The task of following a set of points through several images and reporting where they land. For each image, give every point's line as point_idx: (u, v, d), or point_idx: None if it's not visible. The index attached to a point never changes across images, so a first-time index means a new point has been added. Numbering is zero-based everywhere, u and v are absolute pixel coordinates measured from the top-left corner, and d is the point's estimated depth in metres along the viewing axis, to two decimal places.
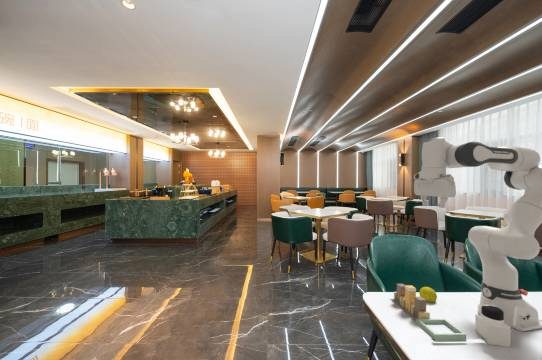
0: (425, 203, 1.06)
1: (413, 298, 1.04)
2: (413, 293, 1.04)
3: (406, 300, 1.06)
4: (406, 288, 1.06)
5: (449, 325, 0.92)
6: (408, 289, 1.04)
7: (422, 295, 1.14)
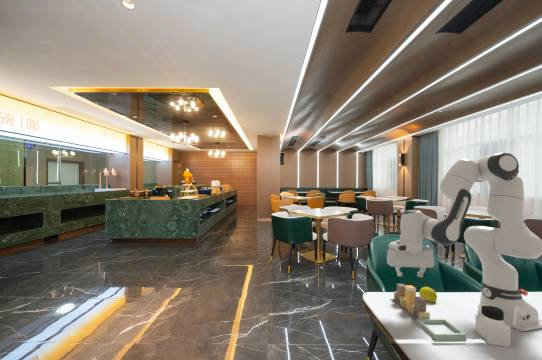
0: None
1: (413, 298, 1.04)
2: (413, 293, 1.04)
3: (406, 300, 1.06)
4: (406, 288, 1.06)
5: (449, 325, 0.92)
6: (408, 289, 1.04)
7: (422, 295, 1.14)
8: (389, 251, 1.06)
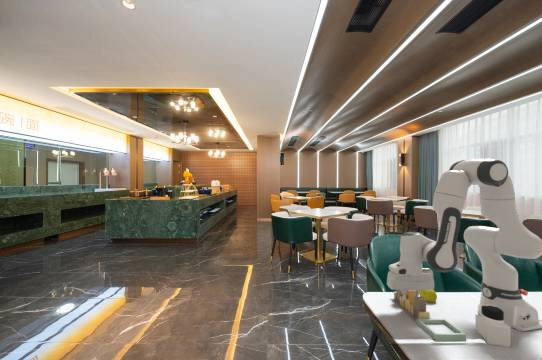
0: None
1: (413, 298, 1.04)
2: (413, 293, 1.04)
3: (406, 300, 1.06)
4: None
5: (449, 325, 0.92)
6: None
7: (422, 295, 1.14)
8: (389, 274, 1.06)
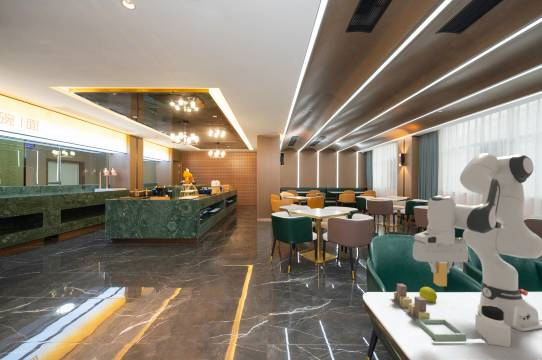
0: None
1: (444, 271, 0.90)
2: (444, 266, 0.90)
3: (435, 274, 0.91)
4: None
5: (449, 325, 0.92)
6: None
7: (422, 295, 1.14)
8: (415, 244, 0.92)
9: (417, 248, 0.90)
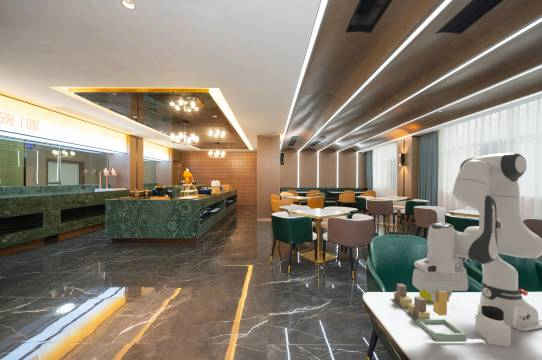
0: None
1: (444, 300, 0.89)
2: (444, 294, 0.89)
3: (435, 302, 0.91)
4: None
5: (449, 325, 0.92)
6: None
7: (422, 295, 1.14)
8: (415, 272, 0.91)
9: (417, 276, 0.90)
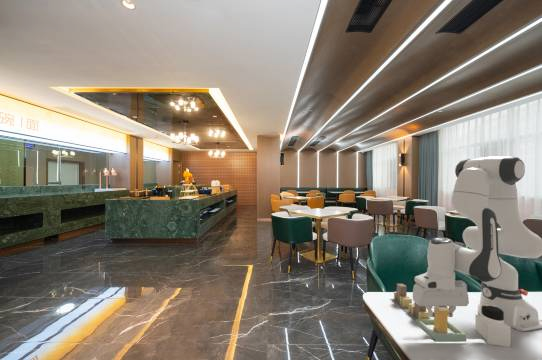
0: None
1: (444, 318, 0.89)
2: (445, 313, 0.89)
3: (436, 320, 0.91)
4: (436, 306, 0.91)
5: (449, 325, 0.92)
6: (439, 308, 0.89)
7: None
8: (416, 287, 0.91)
9: (417, 292, 0.90)
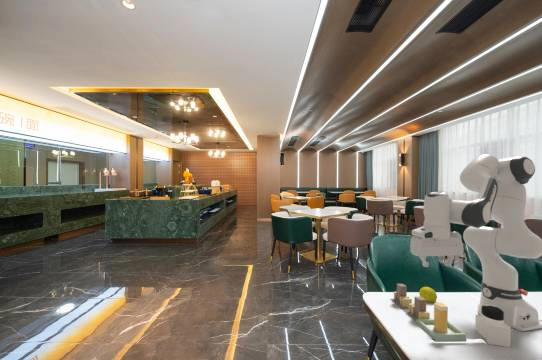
0: None
1: (444, 318, 0.89)
2: (445, 313, 0.89)
3: (436, 320, 0.91)
4: (436, 306, 0.91)
5: (449, 325, 0.92)
6: (439, 308, 0.89)
7: (422, 295, 1.14)
8: (413, 239, 0.95)
9: (414, 243, 0.93)
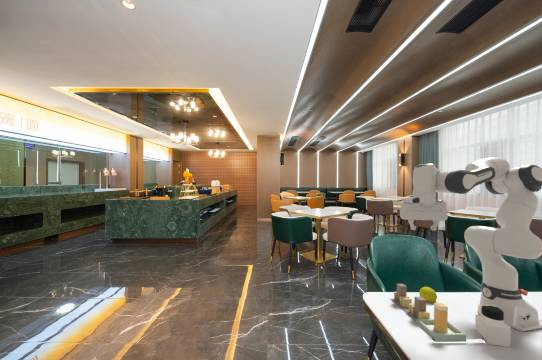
0: None
1: (444, 318, 0.89)
2: (445, 313, 0.89)
3: (436, 320, 0.91)
4: (436, 306, 0.91)
5: (449, 325, 0.92)
6: (439, 308, 0.89)
7: (422, 295, 1.14)
8: (402, 205, 1.06)
9: (403, 208, 1.04)
